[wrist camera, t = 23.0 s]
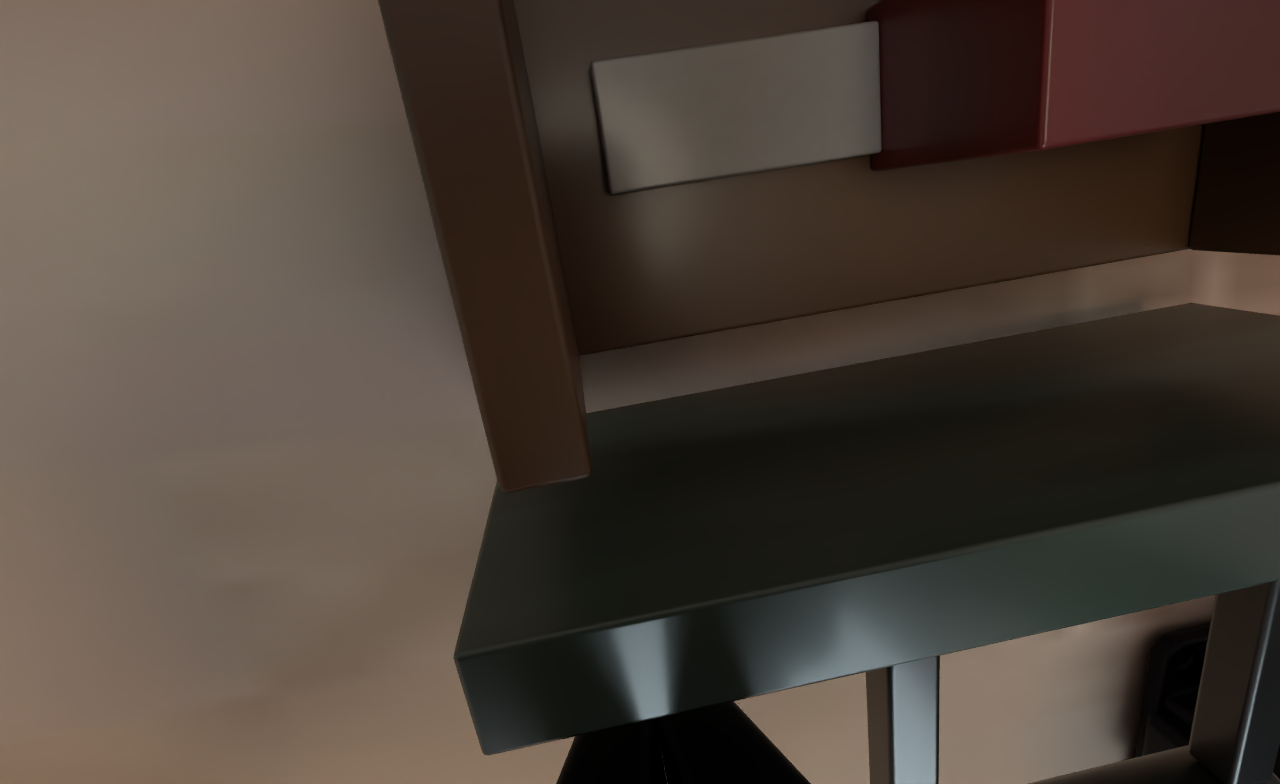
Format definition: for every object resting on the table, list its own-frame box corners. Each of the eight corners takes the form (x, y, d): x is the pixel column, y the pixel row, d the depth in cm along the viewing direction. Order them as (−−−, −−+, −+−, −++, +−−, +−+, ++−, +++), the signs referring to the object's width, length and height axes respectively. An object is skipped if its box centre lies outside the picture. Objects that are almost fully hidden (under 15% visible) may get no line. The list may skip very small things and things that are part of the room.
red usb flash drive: (1177, -36, 9) (1540, -183, 5) (1159, 125, 9) (1472, 80, 6) (584, 47, 8) (599, -62, 5) (611, 213, 9) (638, 214, 6)
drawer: (1154, 566, 13) (1572, 817, 8) (571, 692, 13) (576, 1078, 7) (1277, -320, 9) (2541, -1261, 3) (356, -227, 8) (-169, -1324, 2)
